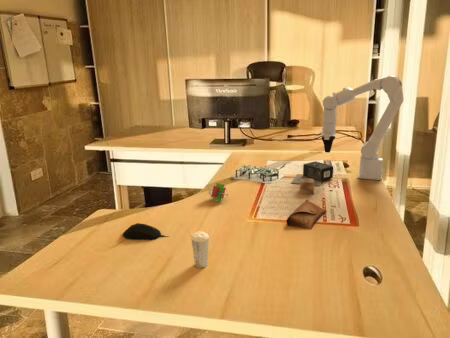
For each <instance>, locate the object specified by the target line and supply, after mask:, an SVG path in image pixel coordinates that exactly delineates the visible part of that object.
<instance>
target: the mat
mask: <svg viewBox="0 0 450 338" xmlns="http://www.w3.org/2000/svg"><path fill="white" fill-rule="evenodd" d="M300 178H307V179H312V178H309V177H306V176H303V173H297V174H295V176H294V178H293V179H292V181H291V182H290V184H294V185H300ZM313 180H314V187H321V185H322V183H323V181H318V180H315V179H313Z"/></svg>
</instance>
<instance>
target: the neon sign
mask: <svg viewBox="0 0 450 338" xmlns="http://www.w3.org/2000/svg"><path fill="white" fill-rule="evenodd" d="M285 166H286V163H284V164H283V165H282V166H281V167H280V168H275V167H271V168H270V167H263V166H258V167H257V165H254V166H252V165H250V164H249V165H246V164H243V165H239V167H238V168H236V169H235V174H233V175H232V177H231V178H232V179H235V180H245V181H247V182H248V181H249V182H250V181H251V182H256V183H261V184H275V183H277V182H278V181H280V180H281V179H283V178H284V177H285V175H284V174H283V173H280V170H281V169H282V168H283V167H285Z"/></svg>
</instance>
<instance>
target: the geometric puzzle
mask: <svg viewBox="0 0 450 338" xmlns="http://www.w3.org/2000/svg"><path fill="white" fill-rule="evenodd" d="M225 192H228V190H227V188H226V186H225V184H222V183H218V182H216V183H215V185H212V186H210V187H209V189H208V195H209V196H210V197H211V199H212V200H213V201H216V202H219V203H221V201H223V199H224V198H225V197H224V196H225V195H226V197H228V195H229V194H228V193H227V194H226V193H225Z"/></svg>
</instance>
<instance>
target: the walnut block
mask: <svg viewBox="0 0 450 338" xmlns="http://www.w3.org/2000/svg"><path fill="white" fill-rule="evenodd" d="M299 193H300V195H312V196H313V195H314V194H315V186H314V180H313V179H307V178H300V184H299Z"/></svg>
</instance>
